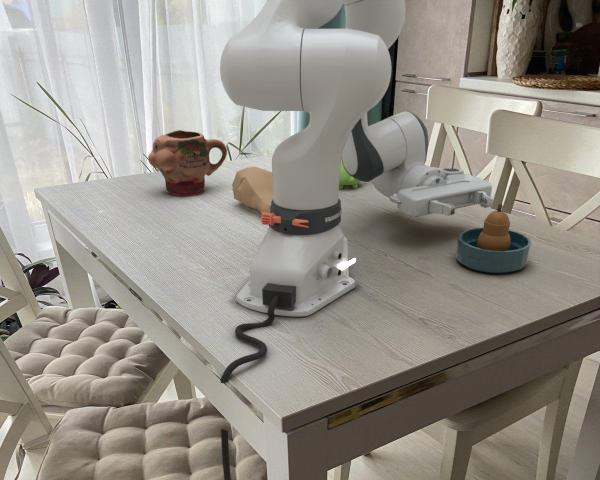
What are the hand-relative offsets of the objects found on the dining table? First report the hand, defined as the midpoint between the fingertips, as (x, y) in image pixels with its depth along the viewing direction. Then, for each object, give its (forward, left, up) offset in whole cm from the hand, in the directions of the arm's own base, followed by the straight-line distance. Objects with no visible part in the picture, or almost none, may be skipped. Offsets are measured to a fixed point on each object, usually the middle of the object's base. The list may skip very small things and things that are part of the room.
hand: (471, 207), depth 117 cm
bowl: (-4, -6, -8) cm, 11 cm away
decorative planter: (+13, +75, -9) cm, 76 cm away
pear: (-4, -6, -8) cm, 11 cm away
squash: (+6, +50, -9) cm, 51 cm away
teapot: (+34, +41, -9) cm, 53 cm away
